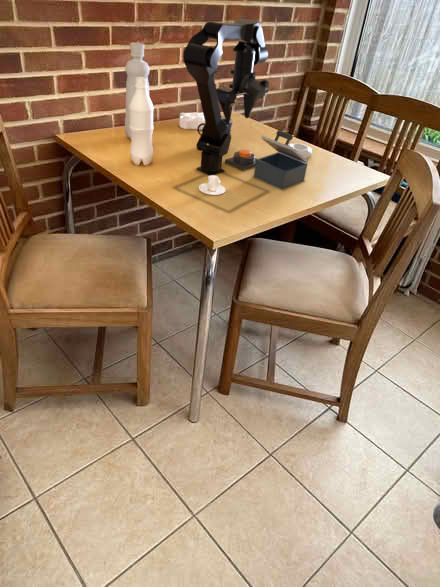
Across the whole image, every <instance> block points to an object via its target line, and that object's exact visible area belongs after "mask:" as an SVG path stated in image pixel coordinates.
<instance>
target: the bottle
mask: <svg viewBox="0 0 440 587" xmlns="http://www.w3.org/2000/svg"><path fill="white" fill-rule="evenodd" d="M145 47H146V46H145V43H142V42H130V43H129V48H130V54H129V55H130V56H131V57H132V59H129V60H128V61H126V65H125V66H124V70H125V73H126V75H127V77H126V82H125V84H126V85H125V117H124V135H125V136H126V137H127V138H128V139H130V140H131V131H130V109H129V106H130V102H131V100H132V98H133V96H134V94H135V91H136V87H135V85H136V77H145V78H147V86H148V88H147V92H148V95H149V96H150V82H149V75H150V71H151V69H150V66H149V63H148V62H146V60H145V61H144V60H143V58H144V57H145Z"/></svg>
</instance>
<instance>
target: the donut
mask: <svg viewBox="0 0 440 587" xmlns="http://www.w3.org/2000/svg"><path fill="white" fill-rule="evenodd" d="M288 146H290V147H293V148H294V149H295V150H296V151H298V152H299V153H300V154H301V155H302V156H303V157H304V158H306V159H307V160H308V159H309V158H311V156H312V155H313V150H312V148H311V147H310V146H308V145H307V144H304V143H299V142H291V143H290V142H289V144H288ZM289 157H290V156H289ZM294 159H295V158H294Z"/></svg>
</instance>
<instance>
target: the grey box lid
mask: <svg viewBox="0 0 440 587" xmlns="http://www.w3.org/2000/svg"><path fill="white" fill-rule="evenodd" d="M280 138H283V139H286V142H285V143H283V142H280V141H278V140H279V139H280ZM293 138H294V135H293V134H291V133H288V132H286V131H283V130H280V129H278V130H277V131H276V136H275V138H274V139H272V138H270V137H267V136H265V135H261V136H260V139H261V140H263V141H264V142H265V143H266V144H268V145H269V146H270V147H272V148H273V149H274V150H275V151H277V152H279V153H282V154H284V155H287V156H290V157H292V158H295V159H297V160H299V161H302V162H304V163H307V164H308V163H309V160H308V158H307V159H306V158H304V157H303V156H302V155H301V154H300V153H299V152H298V151H296V150H295V149H294V148H293V147H290V146H288V144H290V142H291V141H293Z"/></svg>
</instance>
